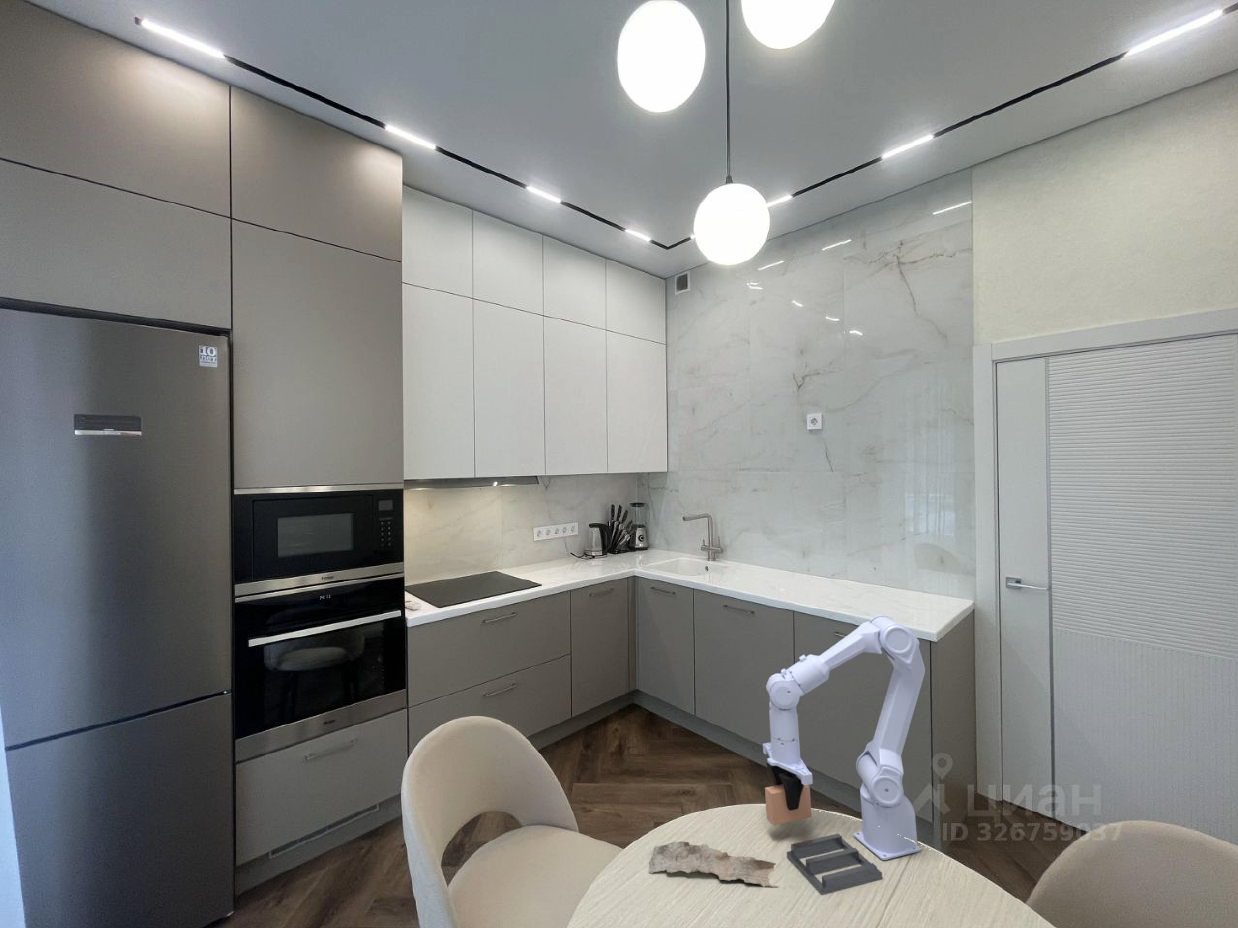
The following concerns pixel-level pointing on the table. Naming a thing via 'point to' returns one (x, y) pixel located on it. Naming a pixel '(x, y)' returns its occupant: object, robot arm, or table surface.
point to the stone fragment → (710, 863)
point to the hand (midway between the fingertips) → (788, 804)
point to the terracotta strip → (778, 806)
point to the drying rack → (832, 864)
